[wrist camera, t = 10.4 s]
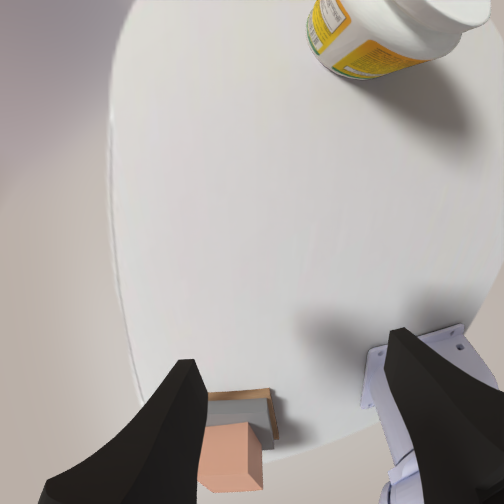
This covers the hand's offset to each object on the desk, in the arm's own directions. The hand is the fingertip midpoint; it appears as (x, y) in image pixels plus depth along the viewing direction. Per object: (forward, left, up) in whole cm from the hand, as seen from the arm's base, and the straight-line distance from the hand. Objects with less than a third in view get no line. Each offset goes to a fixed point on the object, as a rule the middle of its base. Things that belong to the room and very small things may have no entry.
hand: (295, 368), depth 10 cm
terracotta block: (+6, +15, -6) cm, 18 cm away
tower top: (+6, +15, -8) cm, 18 cm away
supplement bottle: (-6, -13, -9) cm, 17 cm away
